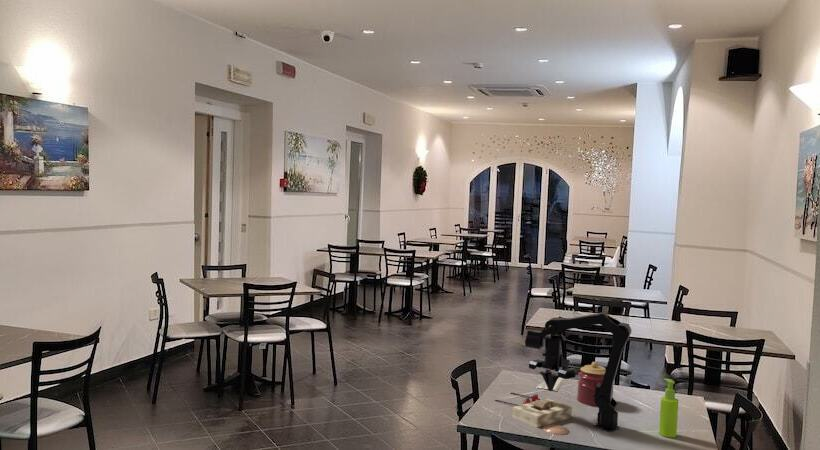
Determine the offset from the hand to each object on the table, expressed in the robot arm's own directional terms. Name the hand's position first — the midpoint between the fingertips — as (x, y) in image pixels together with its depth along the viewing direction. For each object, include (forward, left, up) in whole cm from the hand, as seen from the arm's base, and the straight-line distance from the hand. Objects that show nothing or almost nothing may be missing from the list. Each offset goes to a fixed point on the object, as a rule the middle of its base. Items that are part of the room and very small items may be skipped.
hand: (550, 390), depth 246 cm
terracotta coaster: (-11, +10, -10) cm, 18 cm away
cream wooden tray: (0, +4, -10) cm, 11 cm away
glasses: (+19, -1, -11) cm, 22 cm away
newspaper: (+27, -32, -11) cm, 44 cm away
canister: (+1, -30, -11) cm, 32 cm away
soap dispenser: (-35, -24, -11) cm, 44 cm away
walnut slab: (0, +4, -8) cm, 9 cm away
